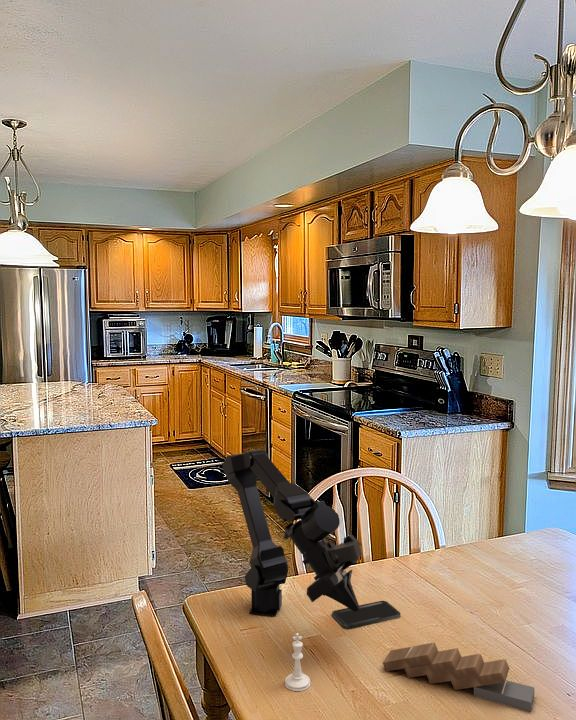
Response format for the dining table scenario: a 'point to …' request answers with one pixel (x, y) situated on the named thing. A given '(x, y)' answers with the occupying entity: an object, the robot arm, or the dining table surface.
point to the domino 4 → (485, 675)
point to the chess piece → (297, 669)
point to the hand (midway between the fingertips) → (357, 610)
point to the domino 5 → (507, 694)
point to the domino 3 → (460, 670)
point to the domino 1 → (410, 657)
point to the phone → (366, 615)
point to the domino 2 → (437, 664)
